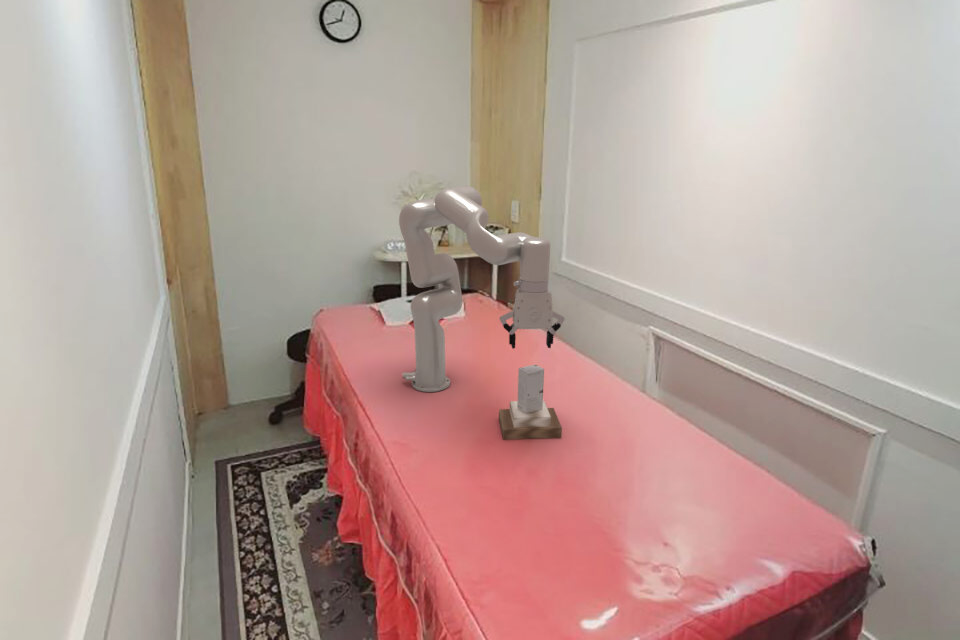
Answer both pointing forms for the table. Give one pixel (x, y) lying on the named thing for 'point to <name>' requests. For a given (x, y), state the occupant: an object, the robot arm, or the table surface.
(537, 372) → the skincare box
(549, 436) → the block stack
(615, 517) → the table surface
